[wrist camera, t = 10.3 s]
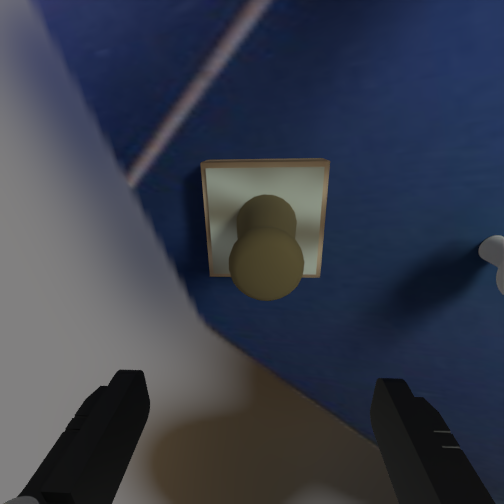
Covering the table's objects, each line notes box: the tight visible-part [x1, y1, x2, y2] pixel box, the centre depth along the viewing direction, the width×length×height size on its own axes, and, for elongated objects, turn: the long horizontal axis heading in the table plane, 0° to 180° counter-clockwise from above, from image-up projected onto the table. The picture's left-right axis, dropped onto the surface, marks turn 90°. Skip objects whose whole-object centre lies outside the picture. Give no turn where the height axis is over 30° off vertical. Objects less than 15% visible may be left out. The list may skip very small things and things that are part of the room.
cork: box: [229, 194, 305, 301], centre depth 23 cm, size 6×6×11 cm
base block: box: [201, 158, 330, 277], centre depth 30 cm, size 12×12×4 cm
